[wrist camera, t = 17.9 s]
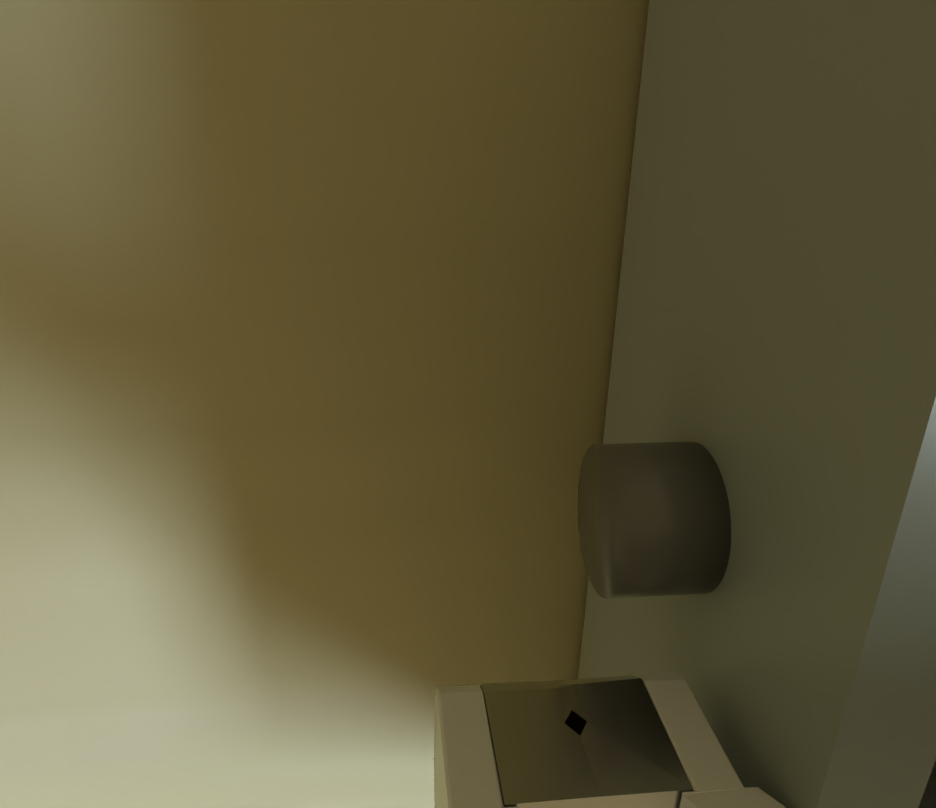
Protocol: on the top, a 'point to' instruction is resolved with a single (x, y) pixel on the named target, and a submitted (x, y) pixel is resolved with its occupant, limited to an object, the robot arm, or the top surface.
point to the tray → (778, 395)
